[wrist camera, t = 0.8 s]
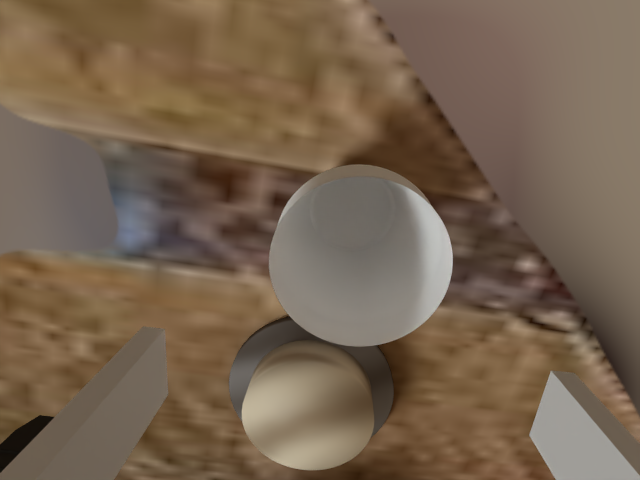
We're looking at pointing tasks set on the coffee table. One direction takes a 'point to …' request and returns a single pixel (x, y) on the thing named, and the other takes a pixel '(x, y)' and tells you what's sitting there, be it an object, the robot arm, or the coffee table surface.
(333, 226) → the cup
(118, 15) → the coffee table surface
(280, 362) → the pedestal
